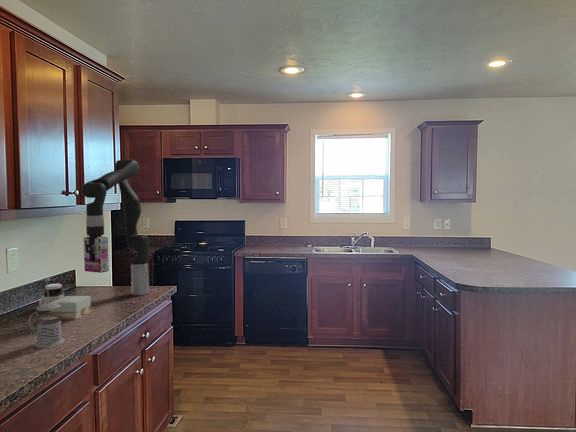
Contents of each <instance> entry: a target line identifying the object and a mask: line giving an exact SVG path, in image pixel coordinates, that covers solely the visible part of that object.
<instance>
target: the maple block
mask: <svg viewBox="0 0 576 432" xmlns="http://www.w3.org/2000/svg"><path fill="white" fill-rule="evenodd" d="M90 313H92V304H91V305H89V306H87V307H85V308H83V309H81V310H79V311H77V312H51V310H50V311H49V315H59V316H60V317H59V318H58V319H60V320H71V321H72V320H74V321H75V320H77V319H80V318H82V317H84V316H86V315H88V314H90Z"/></svg>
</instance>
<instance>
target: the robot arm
mask: <svg viewBox="0 0 576 432" xmlns="http://www.w3.org/2000/svg"><path fill="white" fill-rule="evenodd" d="M114 164H115V166H114V170H113V171H110V172H107V173H105V174H103V175H102V176H100V177H99V178H96V179H93V180H91V181H87V182H86V183H84V184H83V186H82V187H81V194H82V196H84V197H86V198H87V199H88V198H89V199H90V198H91V199H94V200H93V202H89V203H87V205H86V218H85V219H86V220H85V226H86V235H87V237H89V240H85V247H86V253H89V257H90V262H94V261H95V254H94V253H95V248H96V246H94V247H92V246H93V245H94V238H95V237H103V236H104V234H105V220H104V219H105V218H104V204H105V200H106V196H107V191H109V190H111V189H112V188H113V187H114V186H115V187H116V185H118V187H119V192H120V197H121V205H122V211H123V217H124V223H125V234H126V235H125V236H126V237H125V239H126V245H127V246H126V247H127V248H128V249H129V251H131V252H137V253H136V256H134V257H132V258H131V259H130V277H131V278H130V279H131V280H130V283H131V284H130V285H131V295H132V296H144V295H147V294H149V293H150V281H149V280H150V277H149V274H150V273H149V272H150V271H149V259H150V251H151V250H150V249H151V247H150V246H151V245H150V244H151V243H150V238H149V237H148V235H145V234H138V230H137V226H138V225H137V224H138V221H139V219H140V216H141V214H142V208H141V207H142V206H141V200H140V198H139V196H138V195H137V194H136V192H135V191H134V190H133V188H132V187H131V186H130V183H129V180H128V179H130V178H133V177H135V176H137V175H138V174H139V172H140V166H139V162H138V161H136V160H135V159H131V158H130V159H118V160H116V162H115V163H114ZM88 248H89V250H88ZM92 249H93V251H92Z"/></svg>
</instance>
